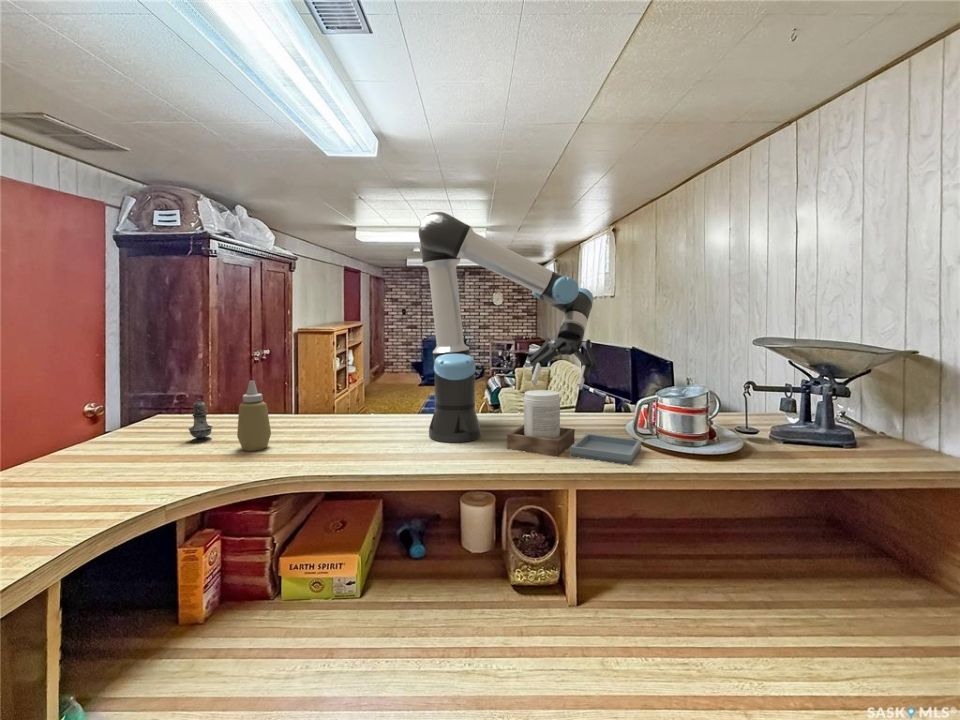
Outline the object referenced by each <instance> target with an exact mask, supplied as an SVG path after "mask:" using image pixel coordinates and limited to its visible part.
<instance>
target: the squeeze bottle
mask: <svg viewBox="0 0 960 720" xmlns="http://www.w3.org/2000/svg"><path fill="white" fill-rule="evenodd" d="M263 399H264V398H263V394H262V393H258V389H257V385H256V381H255V380H249V381H248V386H247V391H246V393H245V394H243V395H242V403H240V404H238V418H237V435H236V436H237V437H236V438H237V439H238V441H239V444H240V446H241V449H242V450H243V451H247V452H249V451H250V452H254V451H260V450H263V449H266V448H267V447H268V444H269V443H270V438H271V436H272V429H271V424H270V417H269V412H268V404H267V403H266V402H265V401H263Z"/></svg>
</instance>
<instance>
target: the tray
mask: <svg viewBox="0 0 960 720" xmlns="http://www.w3.org/2000/svg"><path fill="white" fill-rule="evenodd" d="M641 450H642V440H641V439H633V438H624V437H617V436H608V435H601V434H593V433H586V434H584V435H582V436H581V438H579V439H578V440H577V441H575V442H574V444H573V445H572V446H570V457H571V458H572V457H573V458H577V457H579V458H578V459H584V458H585V459H584V460H591V459H593V460H592V461H597V460H600V461H599V462H604V461H606V463H611V462H614V463H613V464H617V463H621V464H620V465H624V464H627V465H626V466H632V464H633V463H634V462H635V459H636V458H637V457H638V455H639V454H640V452H641Z"/></svg>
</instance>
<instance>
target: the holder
mask: <svg viewBox="0 0 960 720" xmlns="http://www.w3.org/2000/svg"><path fill="white" fill-rule="evenodd" d="M575 433H576V432H575V428H570V427H561V426H560V437H559V438H557V439H556V440H554V439H547V438H539V437H532V436H524V424H523V425H522V426H520V427H518V428H516V429H514V430H512V431H510V432H509V433H507V434H506V435H507V436H506V438H507V439H506V450H510V449H512V450H511V451H516V450H518V451H519V452H523V451H525V453H530V452H531V454H536V453H538V455H545V456H551V457H556V456H557V457H560V456H561V455H562V454H563V453H565V450H566V449H567V450H568V449H569V448H571V445H572V444H575V435H576V434H575ZM567 450H566V451H567ZM559 455H560V456H559ZM557 457H556V458H557Z"/></svg>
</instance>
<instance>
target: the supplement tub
mask: <svg viewBox="0 0 960 720" xmlns="http://www.w3.org/2000/svg"><path fill="white" fill-rule="evenodd" d="M523 425H524V436H532V437H539V438H547V439H554V440H556V439H557V438H559V437H560V427H561V399H560V392H559V391H557V390H550V389H549V390H548V389H534V390H527V391H525V392H524V396H523Z"/></svg>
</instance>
